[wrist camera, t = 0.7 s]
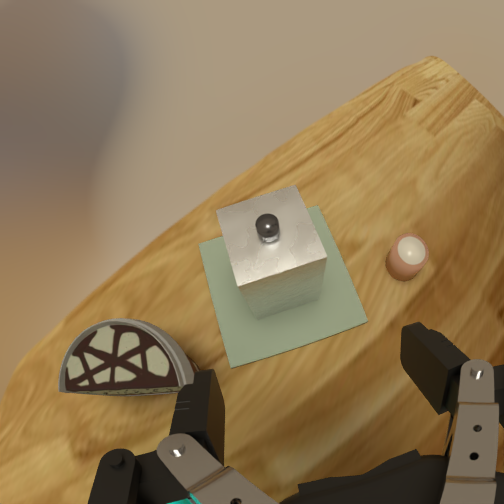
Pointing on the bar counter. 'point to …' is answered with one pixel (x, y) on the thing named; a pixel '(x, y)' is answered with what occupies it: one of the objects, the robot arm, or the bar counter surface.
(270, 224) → the steel cover
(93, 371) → the food container
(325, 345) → the bar counter surface
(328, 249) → the rubber mat
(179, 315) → the bar counter surface
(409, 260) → the terracotta ramekin
